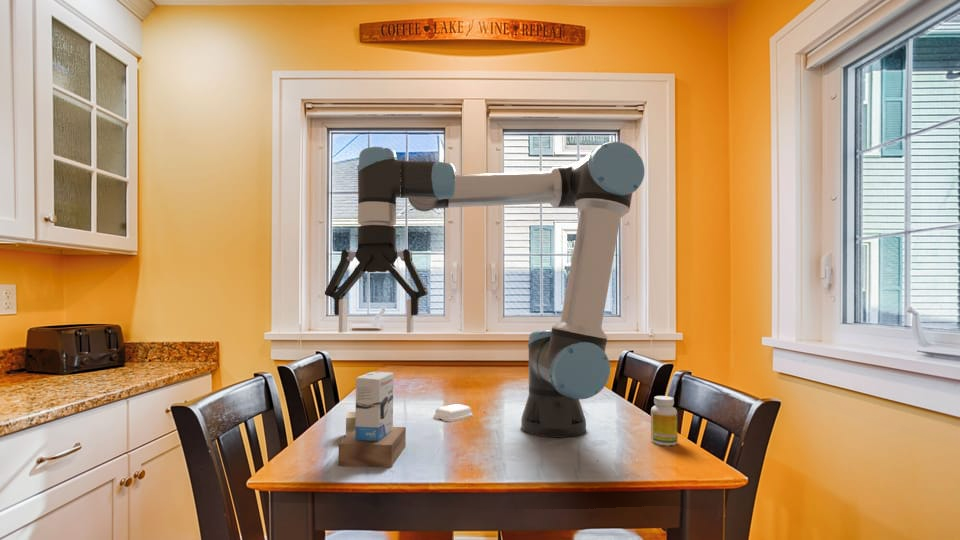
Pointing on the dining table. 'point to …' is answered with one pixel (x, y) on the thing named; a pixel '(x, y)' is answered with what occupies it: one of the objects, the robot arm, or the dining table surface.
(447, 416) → the soap
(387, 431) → the ink box
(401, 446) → the walnut block
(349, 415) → the maple cube
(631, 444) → the dining table surface
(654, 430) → the supplement bottle
